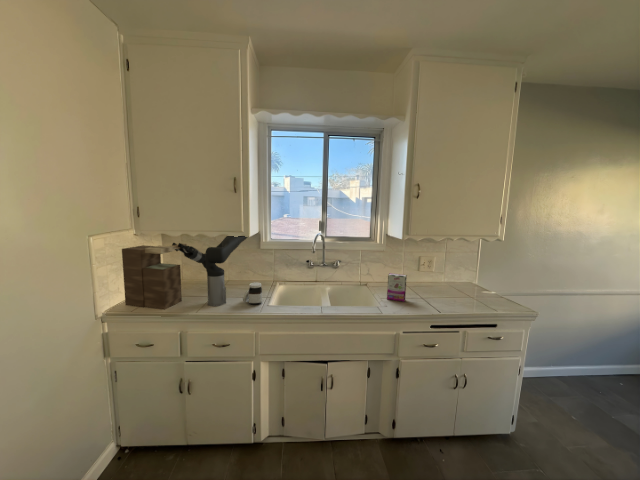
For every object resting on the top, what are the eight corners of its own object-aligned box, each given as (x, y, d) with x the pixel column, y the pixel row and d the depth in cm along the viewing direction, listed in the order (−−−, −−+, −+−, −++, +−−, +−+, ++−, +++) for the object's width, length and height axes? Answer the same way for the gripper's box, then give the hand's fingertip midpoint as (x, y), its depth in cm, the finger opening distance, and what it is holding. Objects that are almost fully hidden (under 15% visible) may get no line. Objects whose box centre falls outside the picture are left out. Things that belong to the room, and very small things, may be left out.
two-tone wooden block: (145, 297, 161) (142, 245, 157) (181, 301, 157) (179, 247, 152) (125, 305, 148) (121, 248, 144) (164, 309, 143) (161, 251, 139)
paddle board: (177, 246, 167) (177, 242, 166) (191, 247, 165) (191, 243, 164) (145, 252, 143) (144, 248, 143) (160, 254, 141) (160, 249, 141)
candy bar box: (405, 299, 170) (407, 274, 168) (404, 302, 166) (406, 276, 163) (387, 297, 174) (389, 272, 172) (386, 299, 170) (388, 274, 168)
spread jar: (261, 306, 153) (261, 286, 151) (241, 306, 151) (241, 286, 150) (262, 298, 165) (262, 280, 163) (243, 299, 163) (243, 280, 161)
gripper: (185, 247, 177) (167, 237, 161) (204, 249, 174) (188, 239, 158) (181, 258, 174) (163, 249, 158) (201, 260, 171) (184, 250, 156)
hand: (176, 244), depth 159 cm, fingers closed on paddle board, 3 cm apart
